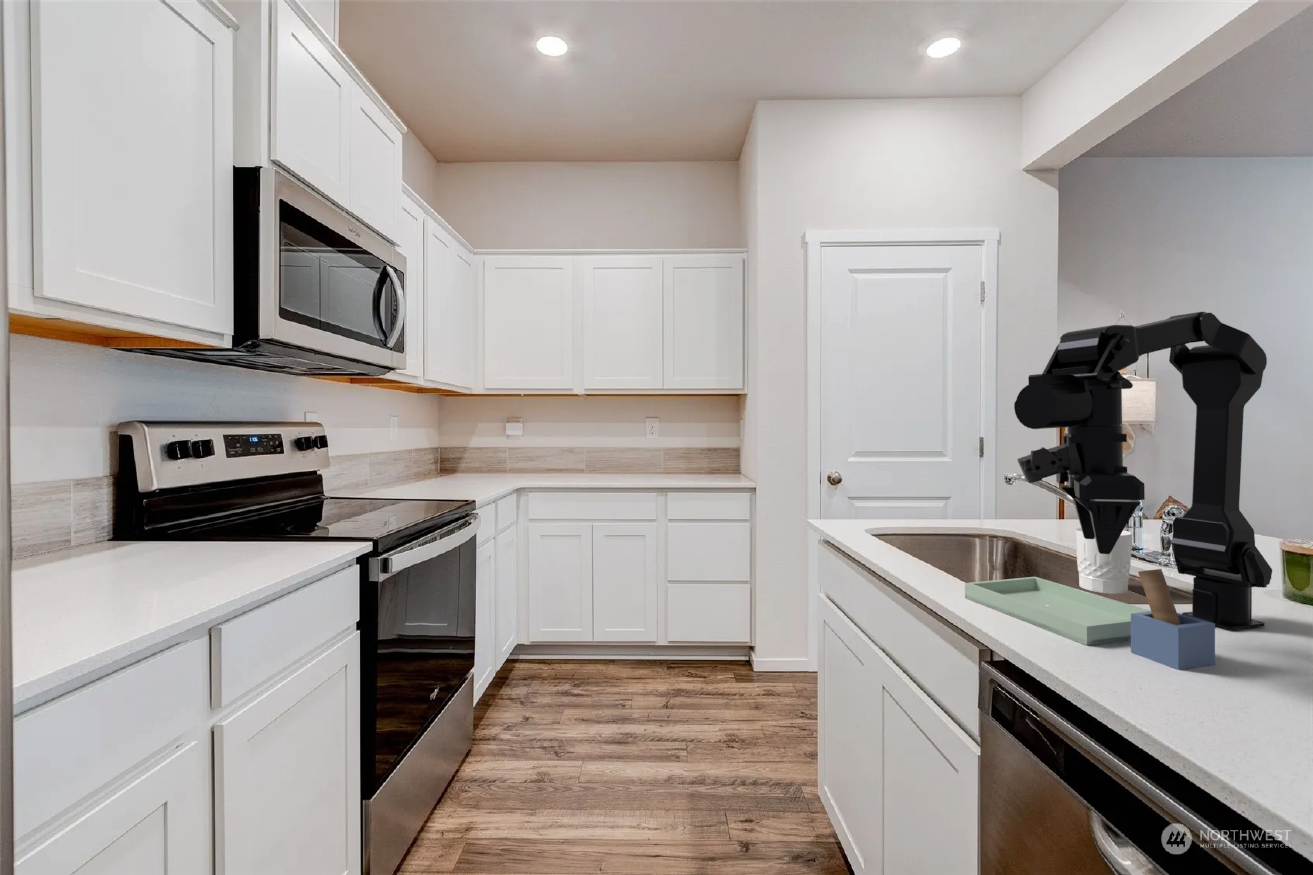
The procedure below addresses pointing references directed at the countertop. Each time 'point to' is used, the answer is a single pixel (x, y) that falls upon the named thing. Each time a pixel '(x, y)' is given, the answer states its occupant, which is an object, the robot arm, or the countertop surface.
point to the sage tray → (1057, 608)
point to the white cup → (1104, 564)
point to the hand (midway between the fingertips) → (1096, 545)
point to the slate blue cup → (1173, 640)
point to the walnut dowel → (1159, 596)
